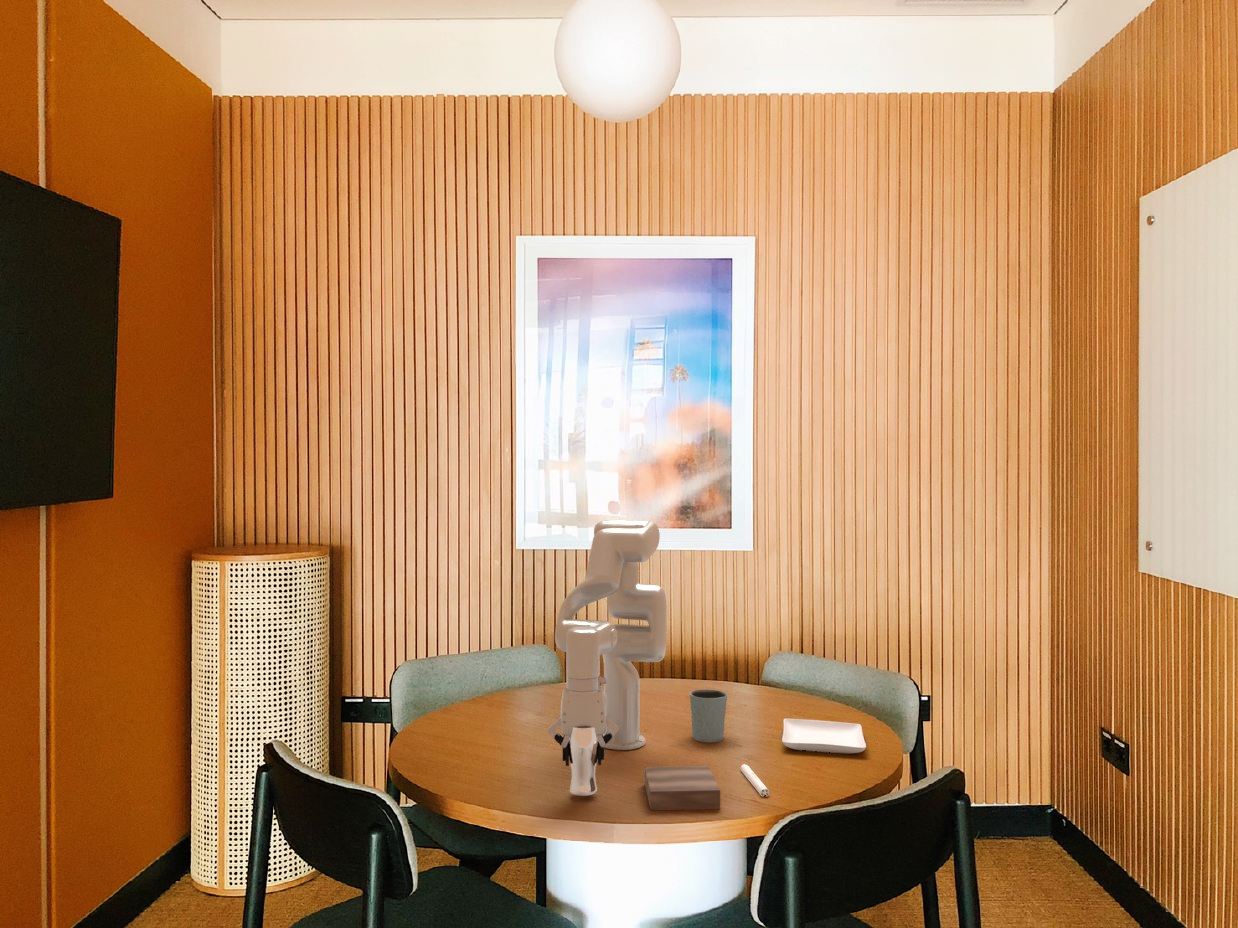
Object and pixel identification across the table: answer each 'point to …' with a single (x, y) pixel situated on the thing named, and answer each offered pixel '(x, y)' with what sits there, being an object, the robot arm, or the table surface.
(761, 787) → the marker
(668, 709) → the table surface
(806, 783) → the table surface
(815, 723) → the salad plate
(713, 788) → the walnut plinth
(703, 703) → the grey green cup
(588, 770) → the beer glass
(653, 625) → the robot arm
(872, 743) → the table surface
